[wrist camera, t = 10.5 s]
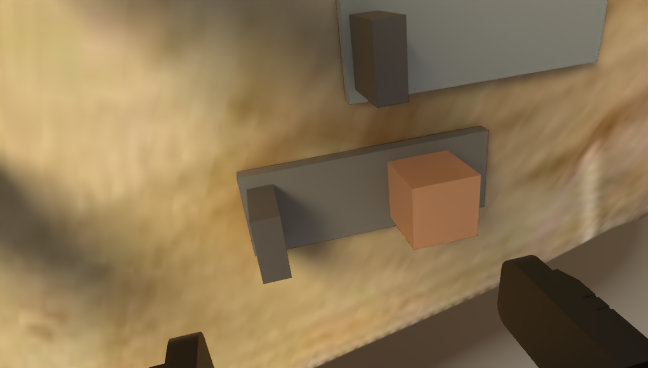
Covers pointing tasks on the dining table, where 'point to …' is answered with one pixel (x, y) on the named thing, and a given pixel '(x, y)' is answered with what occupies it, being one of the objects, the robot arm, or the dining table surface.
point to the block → (434, 198)
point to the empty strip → (459, 42)
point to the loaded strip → (336, 194)
